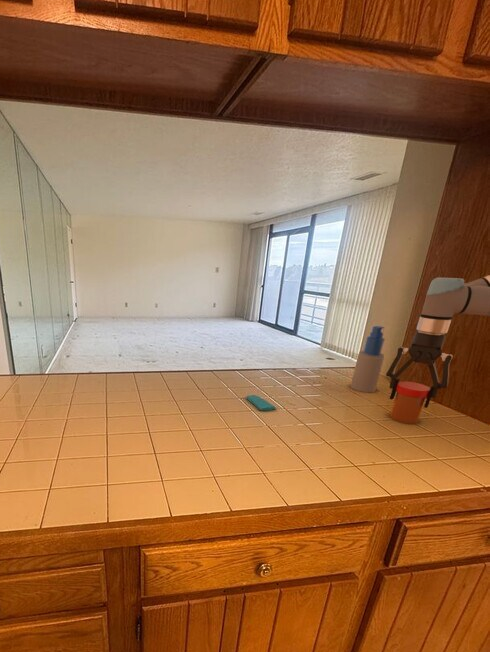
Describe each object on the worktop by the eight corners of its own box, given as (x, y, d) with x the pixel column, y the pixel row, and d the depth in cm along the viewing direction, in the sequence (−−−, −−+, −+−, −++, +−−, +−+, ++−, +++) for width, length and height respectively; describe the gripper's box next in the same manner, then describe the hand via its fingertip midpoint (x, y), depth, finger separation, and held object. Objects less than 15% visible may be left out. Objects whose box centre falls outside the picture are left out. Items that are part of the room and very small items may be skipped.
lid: (431, 392, 111) (433, 386, 110) (425, 400, 105) (427, 393, 104) (399, 385, 116) (401, 379, 115) (392, 392, 110) (394, 385, 110)
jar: (422, 421, 112) (433, 390, 108) (406, 425, 109) (417, 392, 105) (400, 412, 119) (409, 382, 114) (384, 415, 116) (393, 384, 112)
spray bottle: (380, 390, 138) (397, 327, 129) (364, 393, 135) (381, 329, 125) (360, 383, 146) (375, 323, 136) (345, 386, 143) (360, 325, 133)
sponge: (260, 394, 129) (246, 393, 127) (276, 407, 118) (261, 406, 117) (259, 398, 129) (245, 397, 128) (275, 411, 119) (260, 410, 117)
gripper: (478, 336, 99) (451, 408, 107) (393, 325, 112) (375, 390, 121) (476, 340, 94) (448, 415, 102) (386, 328, 107) (368, 396, 116)
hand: (408, 402), depth 112 cm, fingers closed on lid, 9 cm apart
